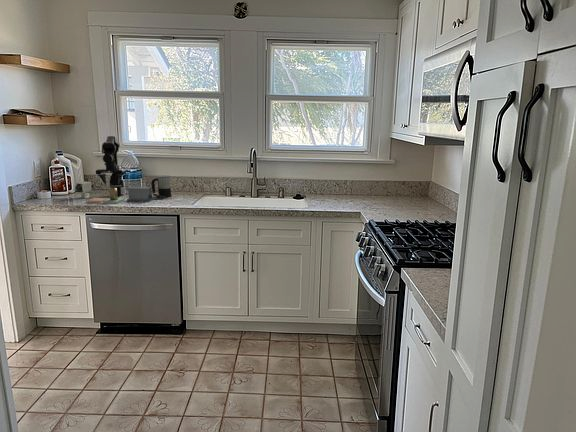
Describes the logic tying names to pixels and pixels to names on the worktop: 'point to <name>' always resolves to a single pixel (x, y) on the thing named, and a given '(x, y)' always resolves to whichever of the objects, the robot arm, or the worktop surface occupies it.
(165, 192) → the coffee carafe
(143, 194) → the graphite housing
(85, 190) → the pneumatic valve
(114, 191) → the bronze cartridge
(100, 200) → the terracotta pad
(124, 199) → the sage pad
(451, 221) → the worktop surface
